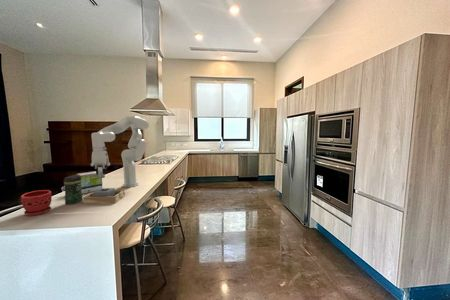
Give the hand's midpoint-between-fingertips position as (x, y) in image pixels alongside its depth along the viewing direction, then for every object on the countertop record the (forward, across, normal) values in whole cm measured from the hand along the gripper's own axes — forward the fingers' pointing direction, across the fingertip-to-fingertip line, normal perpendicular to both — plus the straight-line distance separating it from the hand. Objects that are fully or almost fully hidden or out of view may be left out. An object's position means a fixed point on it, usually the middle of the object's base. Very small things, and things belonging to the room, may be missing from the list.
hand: (101, 173), depth 151 cm
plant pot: (+15, +20, +32) cm, 41 cm away
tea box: (+17, +16, -12) cm, 26 cm away
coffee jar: (+16, +10, +16) cm, 25 cm away
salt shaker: (+3, 0, 0) cm, 3 cm away
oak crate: (+16, -9, +14) cm, 23 cm away
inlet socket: (+15, -9, +14) cm, 23 cm away
